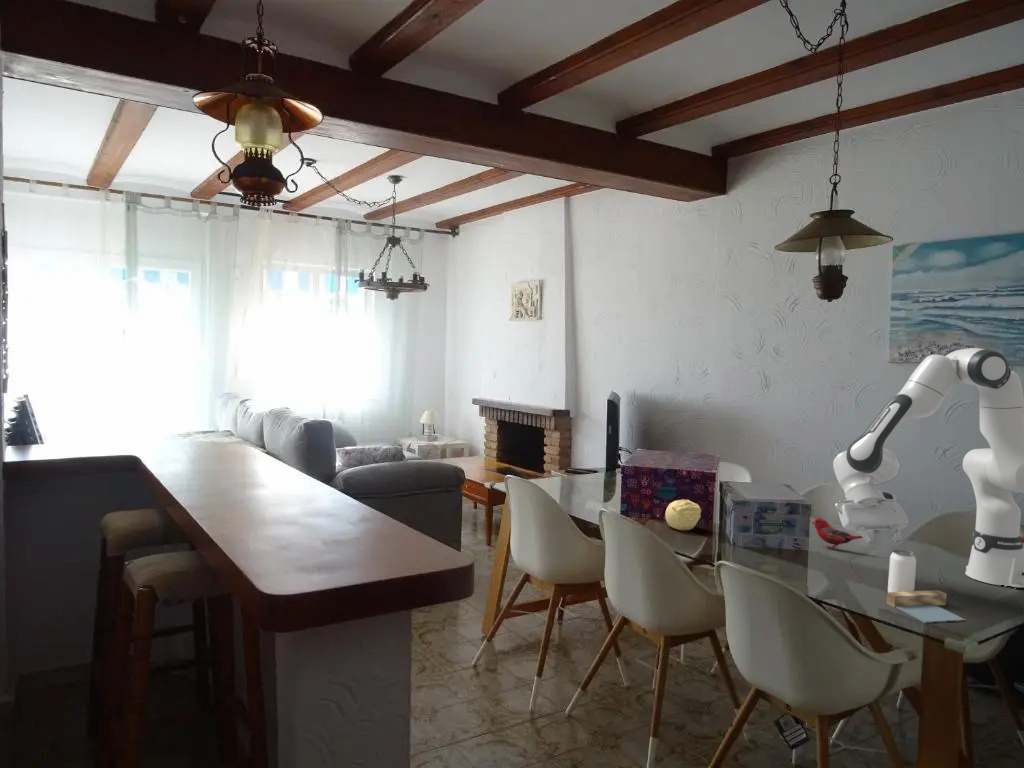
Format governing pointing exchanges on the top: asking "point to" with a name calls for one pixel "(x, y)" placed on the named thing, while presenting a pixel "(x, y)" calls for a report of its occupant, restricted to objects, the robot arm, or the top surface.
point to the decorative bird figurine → (832, 533)
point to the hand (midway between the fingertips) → (884, 541)
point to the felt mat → (929, 613)
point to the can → (902, 571)
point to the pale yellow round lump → (682, 514)
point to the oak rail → (916, 598)
